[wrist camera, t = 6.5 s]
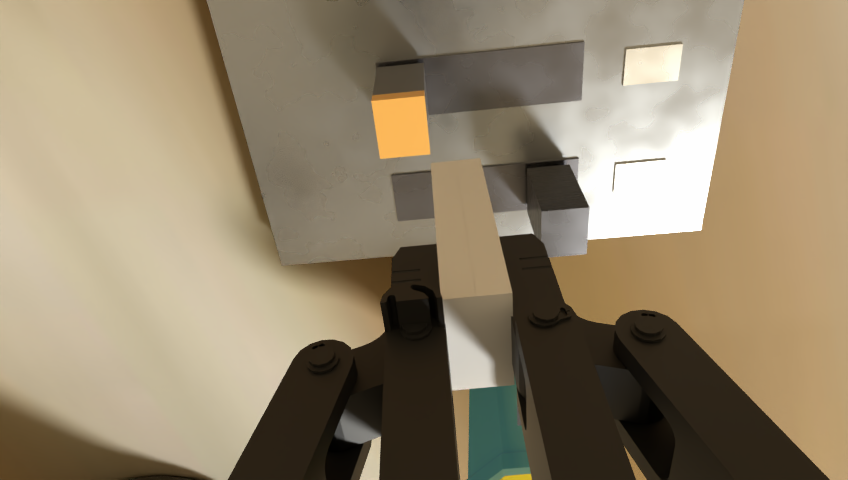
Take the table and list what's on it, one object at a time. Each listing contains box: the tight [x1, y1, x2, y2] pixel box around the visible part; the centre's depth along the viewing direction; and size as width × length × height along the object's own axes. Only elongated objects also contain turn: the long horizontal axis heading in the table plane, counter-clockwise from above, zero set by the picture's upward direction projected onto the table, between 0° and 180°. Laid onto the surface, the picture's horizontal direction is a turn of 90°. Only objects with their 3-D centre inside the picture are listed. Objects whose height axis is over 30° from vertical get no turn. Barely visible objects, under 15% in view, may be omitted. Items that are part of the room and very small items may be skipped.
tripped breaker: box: [371, 63, 430, 159], centre depth 25 cm, size 2×2×4 cm
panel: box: [207, 0, 744, 266], centre depth 26 cm, size 22×18×6 cm
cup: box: [467, 376, 532, 480], centre depth 32 cm, size 14×8×15 cm, turn 120°
